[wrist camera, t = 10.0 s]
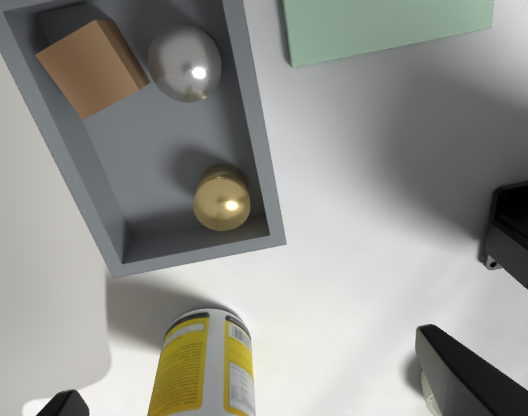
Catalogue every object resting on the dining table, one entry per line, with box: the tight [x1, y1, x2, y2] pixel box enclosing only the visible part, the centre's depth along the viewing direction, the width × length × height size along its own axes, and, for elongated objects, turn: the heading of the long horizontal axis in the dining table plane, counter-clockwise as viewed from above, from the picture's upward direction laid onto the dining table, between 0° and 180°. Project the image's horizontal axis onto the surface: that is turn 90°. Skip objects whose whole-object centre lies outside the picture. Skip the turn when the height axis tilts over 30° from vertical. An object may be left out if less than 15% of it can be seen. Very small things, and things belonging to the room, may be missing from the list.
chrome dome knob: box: [148, 24, 223, 103], centre depth 16 cm, size 3×3×2 cm
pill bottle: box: [147, 309, 256, 416], centre depth 21 cm, size 6×6×12 cm
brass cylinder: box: [193, 164, 250, 231], centre depth 19 cm, size 3×3×2 cm
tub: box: [0, 0, 287, 278], centre depth 17 cm, size 10×14×3 cm
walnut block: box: [35, 20, 151, 120], centre depth 16 cm, size 3×3×2 cm
